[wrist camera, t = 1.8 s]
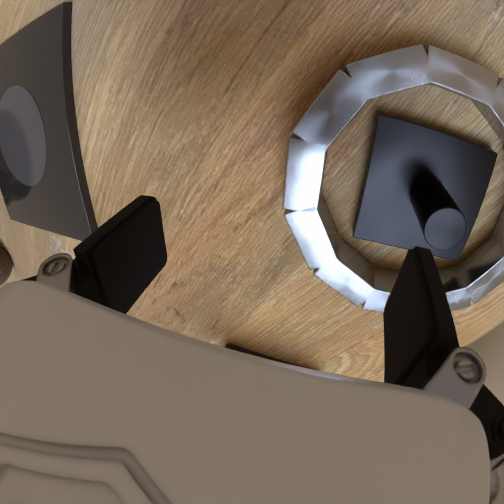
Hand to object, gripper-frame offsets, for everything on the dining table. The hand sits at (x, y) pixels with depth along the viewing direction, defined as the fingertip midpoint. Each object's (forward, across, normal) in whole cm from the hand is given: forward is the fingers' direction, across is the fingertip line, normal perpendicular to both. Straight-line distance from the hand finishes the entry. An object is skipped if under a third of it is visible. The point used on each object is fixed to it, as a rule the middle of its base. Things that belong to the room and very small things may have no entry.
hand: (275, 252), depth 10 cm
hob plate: (+9, +29, -3) cm, 31 cm away
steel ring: (+9, -8, -1) cm, 12 cm away
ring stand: (+9, -8, -1) cm, 12 cm away
